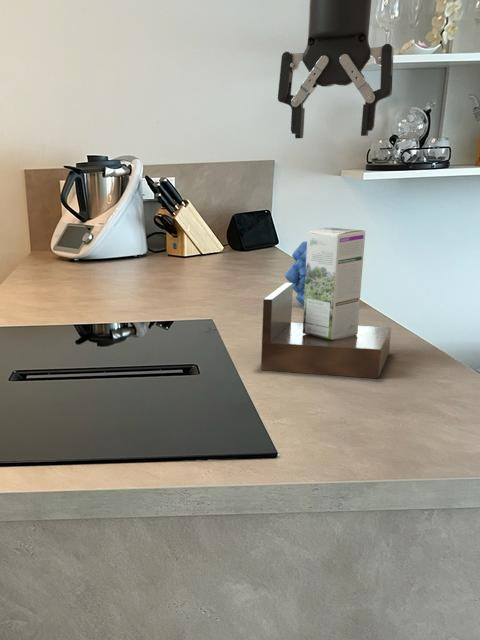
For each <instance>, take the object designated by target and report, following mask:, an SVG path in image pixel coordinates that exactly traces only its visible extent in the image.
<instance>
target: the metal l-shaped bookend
mask: <svg viewBox="0 0 480 640" xmlns="http://www.w3.org/2000/svg"><path fill="white" fill-rule="evenodd" d="M293 291H294V289H293V283H290V282H284V283H283V284H282V285H281V286H279V287H278V288H276V289H275V290H274V291H273V292H271V293H270V294H268V295H267V296H266V297H264V298H263V299H262V300H263V302H262V303H263V304H262V305H263V306H262V329H261V331H262V332H261V355H260V356H261V358H260V360H261V362H260V371H268V372H269V371H270V372H280V373H281V372H282V373H295V374H296V373H298V374H308V375H322V376H337V377H349V378H351V377H352V378H363V379H364V378H365V379H379V377H380V375H381V372H382V371H383V368H384V366H385V364H386V361H387V359H388V356H389V354H390V345H391V335H392V327H390V326H389V327H388V326H372V325H371V326H369V325H358V333H357V335H353V336H349V337H345V338H341V339H335V340H330V339H325V338H320V337H316V336H312V335H307V334H303V322H292V315H293V313H292V312H293Z"/></svg>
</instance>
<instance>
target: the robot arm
mask: <svg viewBox="0 0 480 640" xmlns="http://www.w3.org/2000/svg"><path fill="white" fill-rule="evenodd" d="M308 6H309V8H308V24H307V25H308V27H307V44H306V47H305V49H304V52H291V51H284V52H283V53H282V55H281V60H280V70H279V80H278V89H277V90H278V92H277V101H278V102H279V103H282V104H285V105H288V106H289V107H290V109H291V119H290V132H291V134H292V135H294V138H295V139H303V138H304V132H305V131H304V129H305V128H304V127H305V114H306V113H305V110H306V108H305V107H304V104H305V103H306V101H307V100H308V99H309V98H310V96H311V95H312V93H314V91H315V90H316V89H317V87H318V86H320V87H322V88H330V87H333V86H340V87H348V86H349V85H351V84H353V85H354V86H355V88H356V89H357V91H358V92H359V93H360V95H361V96H362V98H363V100H364V101H365V102H364V104H362V115H361V116H362V117H361V126H360V127H361V128H360V136H361V137H368V136H369V132H371V131H373V130H374V128H375V121H376V112H377V111H376V110H377V105H378V103H379V102H380V101H382V100H384V99H387V98H390V97H391V96H392V93H393V76H394V75H393V73H394V47H393V46H392V45H391V44H390V43H385V44H384V45H381V46H375V47H370V44H369V35H370V23H371V13H372V12H371V11H372V10H371V9H372V0H309V5H308ZM371 58H374V61H375V62H374V63H375V64H376V65H377V66H380V84H379V85H380V88H379V89H376V90H373V88H372V87H371V85H370V82H368V80H367V78H366V77H365V75H364V74H363V72H362V70H363V69H364V68H365V67H366V65H367V64H368V62H369V61H370V59H371ZM302 62H303V65H304V66H305V67H306V69H307V71H308V74H307V76H306V77H305V79H304V81H302V83H301V85H300V87H299V89H298V90H297V91H296V93H295V94H292V89H293V77H294V72H296V71H298V69H299V67H300V64H301V63H302Z"/></svg>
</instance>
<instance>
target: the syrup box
mask: <svg viewBox="0 0 480 640" xmlns="http://www.w3.org/2000/svg"><path fill="white" fill-rule="evenodd" d="M306 235H307V236H306V241H307V254H306V275H305V296H304V306H303V317H302V319H303V320H302V323H303V334H307V335H312V336H316V337H320V338H325V339H330V340H335V339H341V338H345V337H349V336H353V335H357V333H358V326H359V318H360V305H361V290H362V277H363V267H364V265H363V264H364V256H365V255H364V254H365V240H366V230H365V229H355V228H354V229H353V228H340V227H323V228H316V229H313V230H309V231H307V234H306Z"/></svg>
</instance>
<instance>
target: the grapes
mask: <svg viewBox="0 0 480 640" xmlns="http://www.w3.org/2000/svg"><path fill="white" fill-rule="evenodd" d="M306 254H307V240H304V241H302V242H301V243H299V245H298V247H296V249H294V251H293V253H292V255H291V256H292V258H293V259H294V261H295V262H294V263H292V265H291V267H289V269H287V271H286V272H285V274H284V277H285V279H286V280H287V281H288V283H293V291H294V292H295V293H296V297H295V299H296V301H297V302H298V303H299V304H300V305H301V306H303V307H304V296H305V275H306Z"/></svg>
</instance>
